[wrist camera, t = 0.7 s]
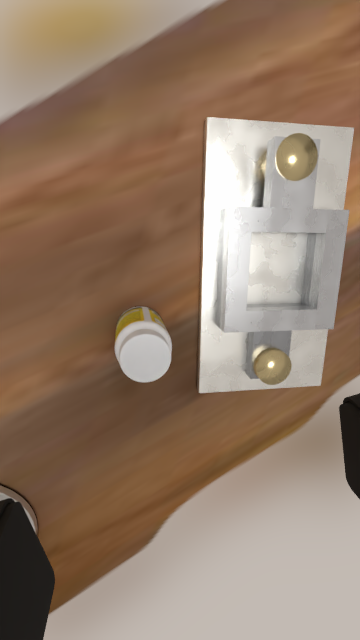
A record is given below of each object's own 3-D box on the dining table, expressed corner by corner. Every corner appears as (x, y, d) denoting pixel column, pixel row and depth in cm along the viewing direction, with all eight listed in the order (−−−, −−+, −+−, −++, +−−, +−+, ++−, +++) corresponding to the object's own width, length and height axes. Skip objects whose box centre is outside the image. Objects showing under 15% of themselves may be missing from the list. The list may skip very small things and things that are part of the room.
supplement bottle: (111, 346, 33) (107, 382, 25) (121, 301, 32) (119, 323, 24) (158, 354, 34) (168, 391, 26) (168, 310, 33) (182, 335, 25)
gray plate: (315, 381, 37) (338, 399, 33) (197, 388, 35) (206, 408, 31) (347, 131, 31) (379, 115, 27) (204, 121, 29) (217, 102, 25)
